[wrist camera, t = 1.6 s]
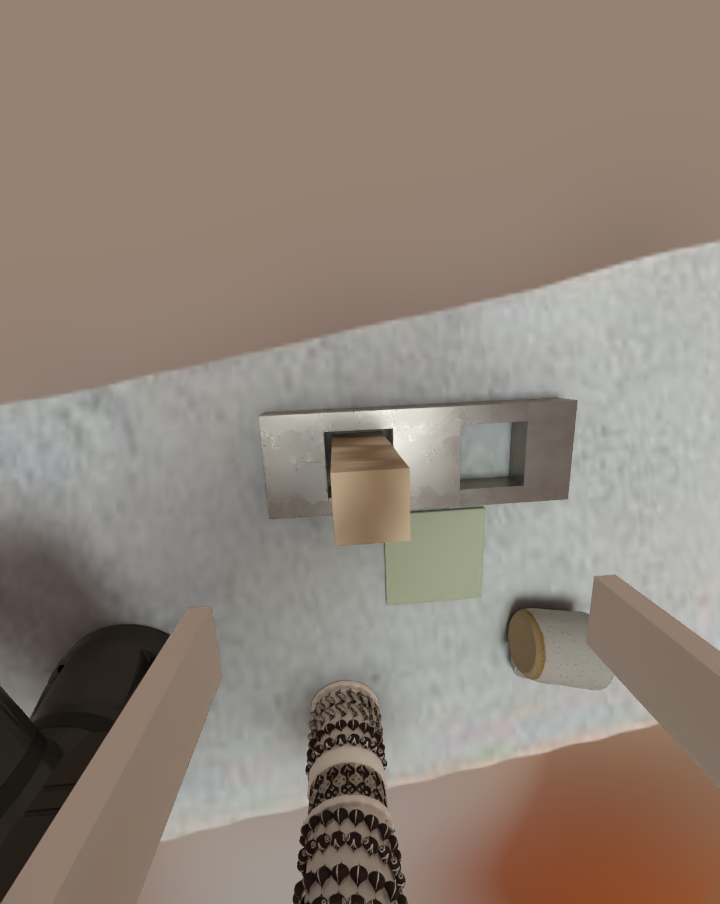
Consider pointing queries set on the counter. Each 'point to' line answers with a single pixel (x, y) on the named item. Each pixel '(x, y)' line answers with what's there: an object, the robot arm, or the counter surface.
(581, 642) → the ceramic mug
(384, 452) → the peg
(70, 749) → the robot arm
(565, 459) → the grey flat slotted plate
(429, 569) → the mat
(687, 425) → the counter surface
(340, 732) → the decorative candle
